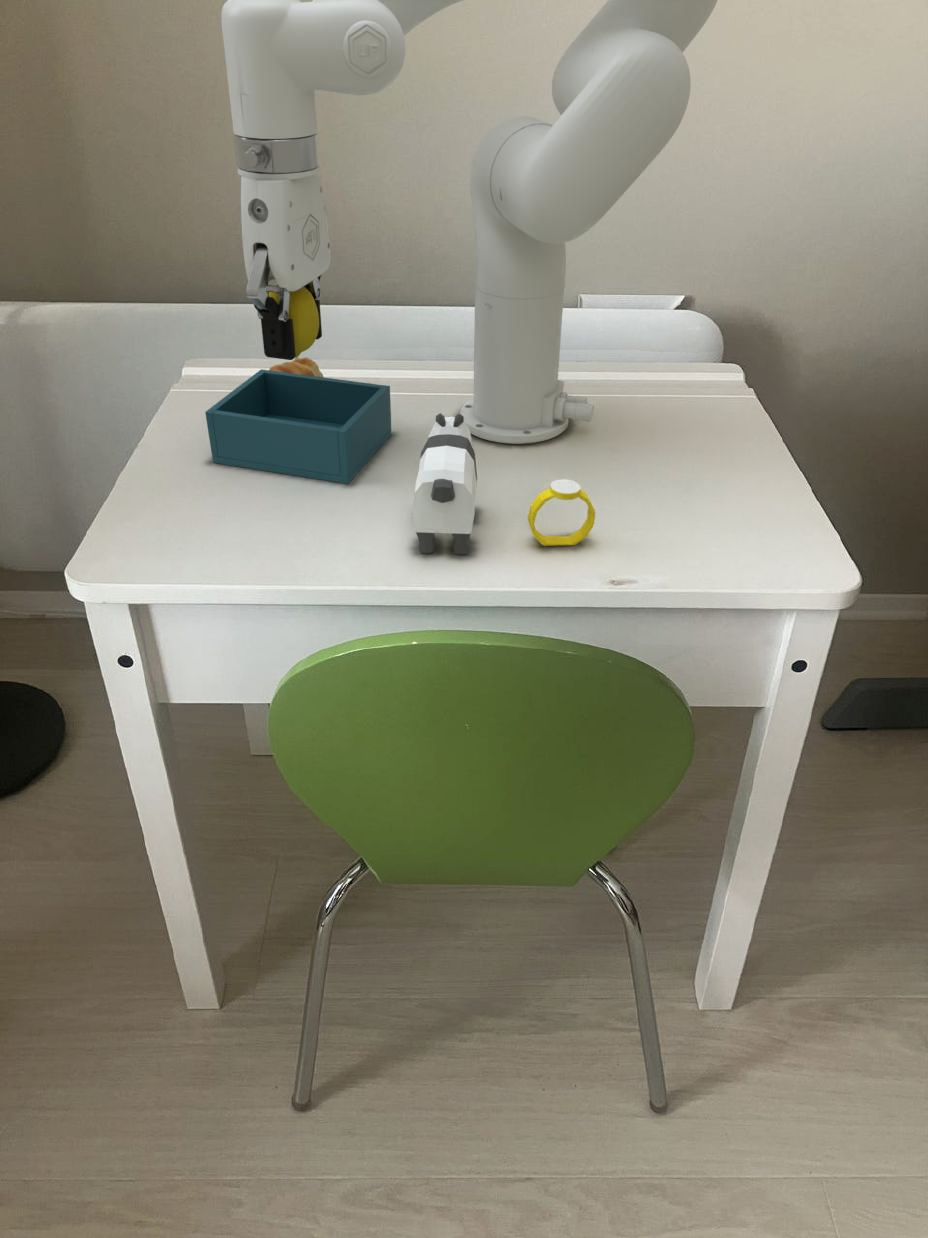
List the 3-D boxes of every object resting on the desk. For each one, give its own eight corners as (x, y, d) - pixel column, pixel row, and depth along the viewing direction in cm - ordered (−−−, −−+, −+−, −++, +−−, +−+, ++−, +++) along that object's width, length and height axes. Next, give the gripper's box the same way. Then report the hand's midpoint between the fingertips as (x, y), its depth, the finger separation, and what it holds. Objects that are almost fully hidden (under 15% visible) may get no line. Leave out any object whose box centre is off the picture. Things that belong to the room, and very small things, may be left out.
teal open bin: (391, 434, 109) (390, 385, 106) (348, 484, 100) (344, 431, 96) (266, 416, 113) (261, 368, 110) (212, 462, 103) (204, 411, 100)
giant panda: (473, 562, 87) (474, 466, 82) (412, 560, 88) (409, 464, 82) (478, 486, 99) (480, 398, 94) (424, 484, 100) (423, 396, 94)
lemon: (311, 369, 98) (305, 289, 93) (259, 364, 98) (250, 284, 94) (328, 350, 102) (323, 273, 97) (278, 346, 103) (271, 269, 98)
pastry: (272, 415, 113) (269, 384, 111) (236, 400, 117) (231, 370, 115) (331, 392, 119) (329, 362, 117) (295, 378, 123) (292, 349, 120)
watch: (530, 552, 89) (533, 495, 85) (524, 537, 91) (527, 480, 88) (594, 548, 90) (600, 491, 86) (586, 533, 92) (592, 477, 88)
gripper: (272, 175, 82) (291, 381, 92) (351, 142, 95) (359, 325, 105) (193, 169, 83) (220, 371, 94) (281, 137, 97) (296, 317, 107)
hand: (294, 345), depth 100 cm, fingers closed on lemon, 5 cm apart
